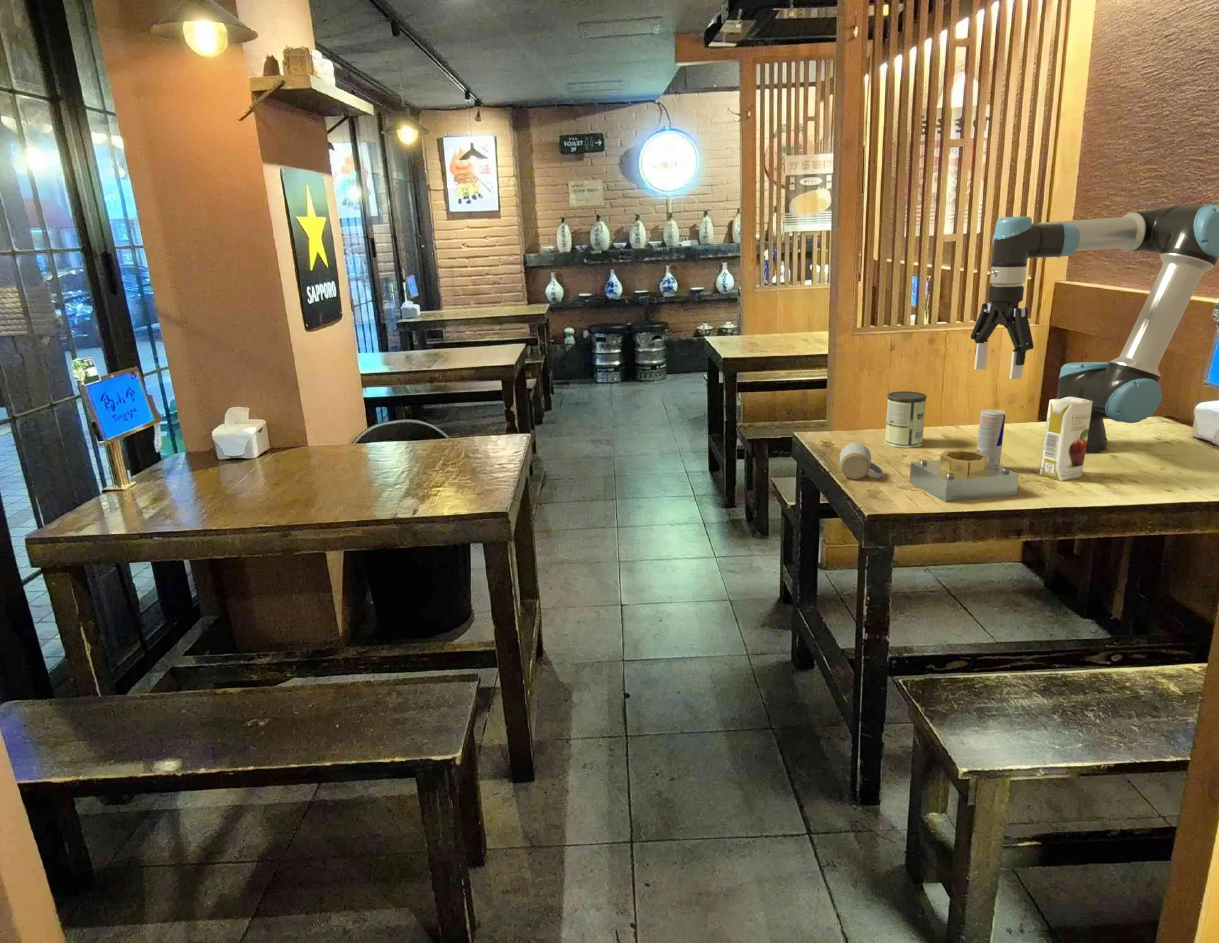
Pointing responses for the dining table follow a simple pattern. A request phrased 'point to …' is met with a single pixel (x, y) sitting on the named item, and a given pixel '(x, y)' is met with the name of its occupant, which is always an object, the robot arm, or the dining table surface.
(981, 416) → the beverage can
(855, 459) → the ceramic mug
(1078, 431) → the juice carton
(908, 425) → the coffee can
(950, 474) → the metal socket fixture
